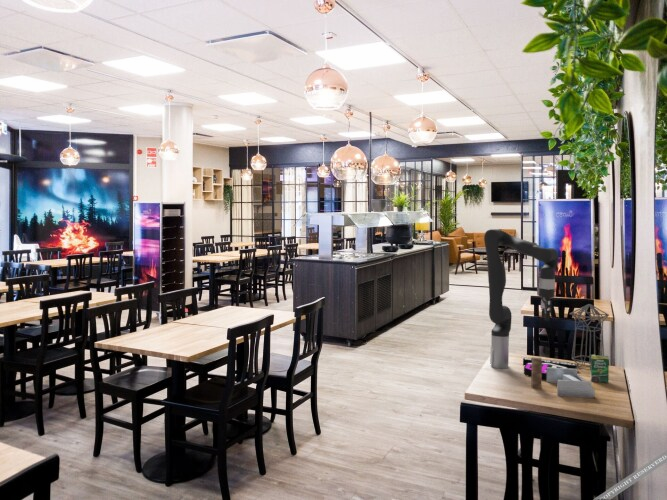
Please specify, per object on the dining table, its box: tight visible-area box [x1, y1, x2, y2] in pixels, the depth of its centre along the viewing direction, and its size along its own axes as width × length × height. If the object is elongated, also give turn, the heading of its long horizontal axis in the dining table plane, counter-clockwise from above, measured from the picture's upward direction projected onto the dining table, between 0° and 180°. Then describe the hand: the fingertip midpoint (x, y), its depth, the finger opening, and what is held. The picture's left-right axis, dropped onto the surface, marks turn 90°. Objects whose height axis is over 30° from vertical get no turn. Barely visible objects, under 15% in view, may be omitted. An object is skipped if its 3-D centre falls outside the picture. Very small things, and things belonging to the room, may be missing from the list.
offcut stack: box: [563, 375, 580, 381], centre depth 249 cm, size 4×12×6 cm, turn 2°
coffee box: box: [590, 354, 610, 384], centre depth 263 cm, size 8×3×13 cm, turn 67°
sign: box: [522, 357, 578, 381], centre depth 279 cm, size 27×4×30 cm
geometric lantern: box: [569, 303, 610, 371], centre depth 288 cm, size 16×16×35 cm
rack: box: [545, 367, 595, 399], centre depth 250 cm, size 16×23×7 cm
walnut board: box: [530, 356, 543, 390], centre depth 253 cm, size 4×3×14 cm
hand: (545, 319), depth 270 cm, fingers open, 8 cm apart
